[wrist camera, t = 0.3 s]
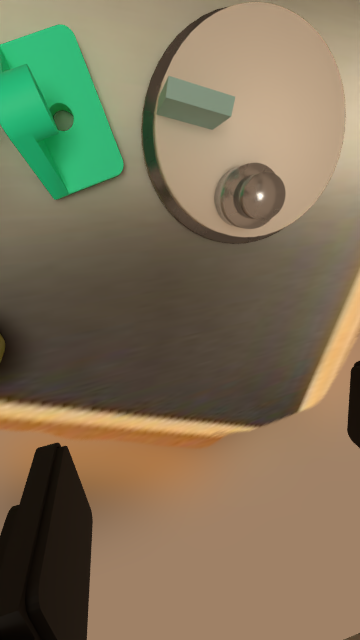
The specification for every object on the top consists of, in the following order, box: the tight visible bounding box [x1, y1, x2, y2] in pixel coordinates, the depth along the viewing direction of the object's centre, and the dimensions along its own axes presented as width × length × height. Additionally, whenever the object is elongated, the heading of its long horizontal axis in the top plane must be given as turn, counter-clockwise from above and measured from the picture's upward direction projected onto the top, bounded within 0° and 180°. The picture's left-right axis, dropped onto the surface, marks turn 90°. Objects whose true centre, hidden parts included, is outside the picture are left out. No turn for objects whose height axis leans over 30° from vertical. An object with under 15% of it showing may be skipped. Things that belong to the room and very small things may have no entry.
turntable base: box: [141, 6, 285, 244], centre depth 33 cm, size 22×22×1 cm
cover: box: [214, 163, 286, 229], centre depth 30 cm, size 6×6×5 cm
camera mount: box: [0, 25, 124, 200], centre depth 25 cm, size 12×8×10 cm, turn 20°
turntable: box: [153, 2, 346, 237], centre depth 29 cm, size 20×20×7 cm
